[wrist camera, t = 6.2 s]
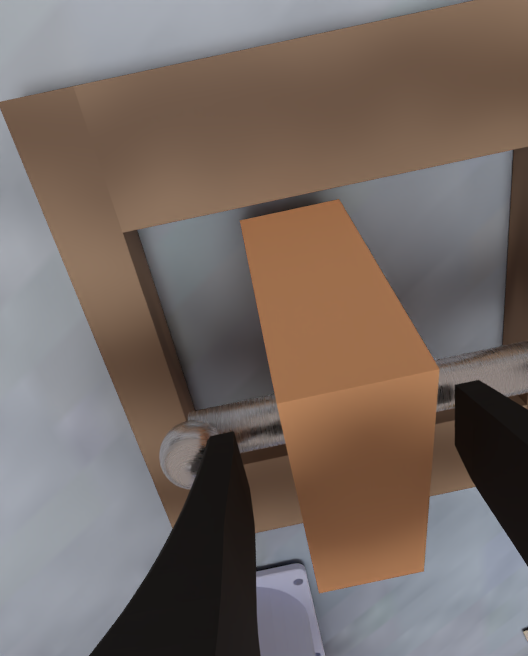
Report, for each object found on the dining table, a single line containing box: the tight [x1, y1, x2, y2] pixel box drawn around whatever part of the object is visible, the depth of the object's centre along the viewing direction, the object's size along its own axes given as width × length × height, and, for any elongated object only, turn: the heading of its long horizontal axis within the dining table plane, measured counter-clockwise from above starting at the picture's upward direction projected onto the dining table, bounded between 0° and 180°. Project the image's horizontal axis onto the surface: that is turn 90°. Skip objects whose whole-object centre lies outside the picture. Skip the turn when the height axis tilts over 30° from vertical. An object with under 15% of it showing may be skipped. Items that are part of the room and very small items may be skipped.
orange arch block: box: [240, 199, 440, 593], centre depth 14 cm, size 8×3×7 cm, turn 11°
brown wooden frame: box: [0, 0, 528, 533], centre depth 18 cm, size 18×22×2 cm
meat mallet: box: [159, 341, 528, 489], centre depth 15 cm, size 4×17×8 cm, turn 101°
